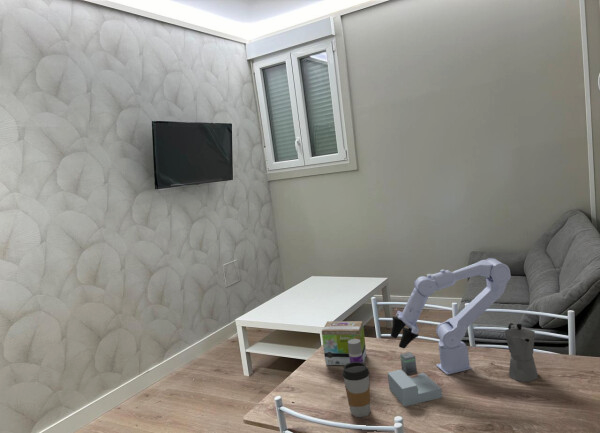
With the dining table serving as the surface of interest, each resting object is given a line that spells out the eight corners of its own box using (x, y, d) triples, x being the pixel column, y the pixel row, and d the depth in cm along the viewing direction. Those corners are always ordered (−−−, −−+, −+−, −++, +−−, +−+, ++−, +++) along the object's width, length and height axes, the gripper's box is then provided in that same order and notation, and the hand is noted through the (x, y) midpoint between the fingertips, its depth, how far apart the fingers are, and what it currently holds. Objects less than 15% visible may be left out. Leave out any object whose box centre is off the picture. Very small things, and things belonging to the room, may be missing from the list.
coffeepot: (547, 383, 147) (543, 330, 145) (516, 386, 147) (512, 333, 145) (526, 362, 162) (522, 313, 160) (499, 365, 163) (494, 316, 160)
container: (365, 384, 162) (360, 343, 160) (351, 384, 163) (346, 344, 161) (365, 377, 166) (361, 338, 165) (353, 378, 167) (348, 338, 166)
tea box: (325, 366, 180) (320, 330, 178) (331, 354, 189) (326, 320, 188) (363, 366, 175) (358, 329, 174) (367, 354, 185) (362, 319, 183)
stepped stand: (424, 380, 159) (422, 364, 158) (442, 397, 147) (440, 379, 146) (389, 389, 156) (387, 372, 156) (404, 406, 145) (402, 388, 144)
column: (412, 367, 170) (410, 351, 169) (417, 372, 166) (415, 356, 165) (401, 369, 169) (400, 354, 168) (406, 374, 165) (404, 358, 164)
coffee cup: (345, 407, 149) (339, 363, 147) (370, 402, 150) (365, 359, 148) (350, 421, 141) (344, 375, 139) (376, 416, 141) (371, 370, 139)
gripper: (395, 297, 168) (380, 329, 170) (412, 313, 155) (395, 349, 156) (412, 303, 170) (396, 335, 172) (430, 320, 156) (413, 354, 158)
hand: (397, 342), depth 164 cm, fingers open, 7 cm apart
